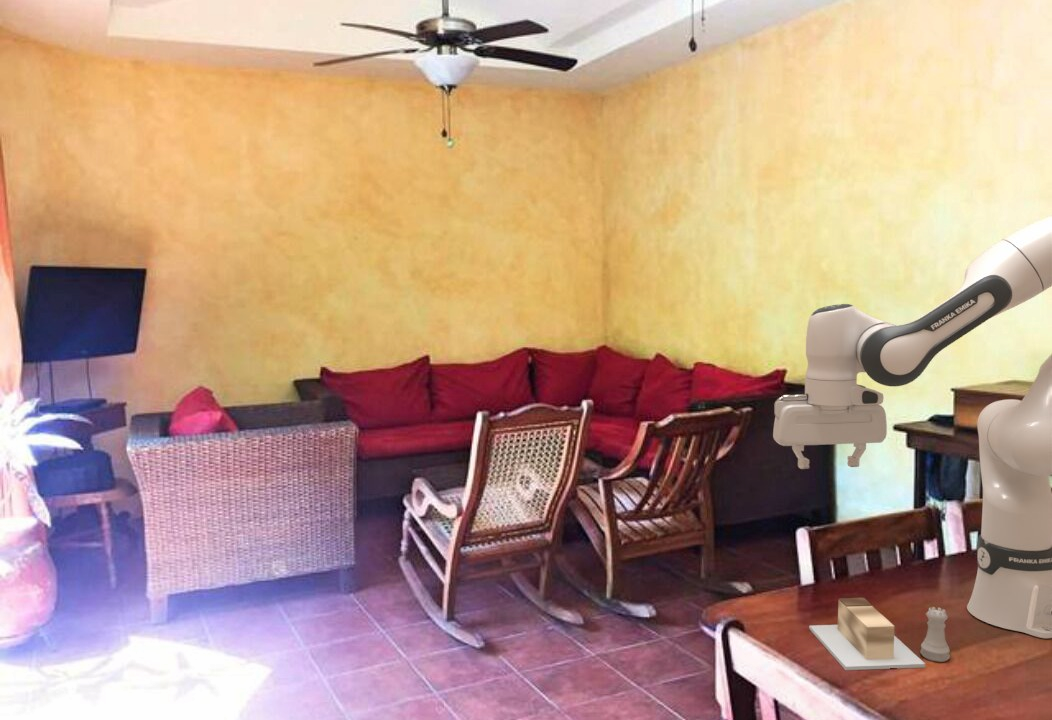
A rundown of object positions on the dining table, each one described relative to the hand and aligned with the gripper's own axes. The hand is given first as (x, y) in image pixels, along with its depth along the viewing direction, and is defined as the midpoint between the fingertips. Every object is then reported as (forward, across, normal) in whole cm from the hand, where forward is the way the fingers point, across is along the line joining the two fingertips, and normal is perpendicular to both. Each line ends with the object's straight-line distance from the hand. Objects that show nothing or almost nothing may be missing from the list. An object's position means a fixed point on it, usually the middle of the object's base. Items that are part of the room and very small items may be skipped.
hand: (828, 467), depth 152 cm
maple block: (+26, 0, -16) cm, 31 cm away
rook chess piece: (+27, +10, -20) cm, 35 cm away
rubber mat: (+27, 0, -16) cm, 32 cm away
